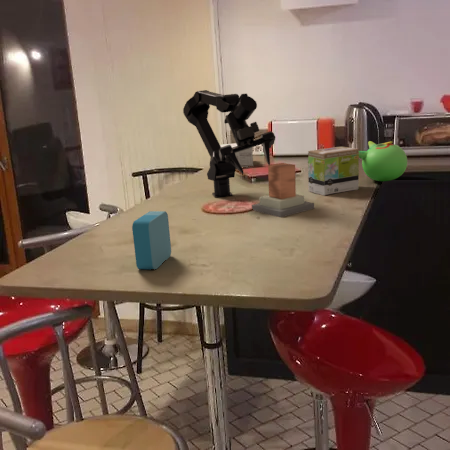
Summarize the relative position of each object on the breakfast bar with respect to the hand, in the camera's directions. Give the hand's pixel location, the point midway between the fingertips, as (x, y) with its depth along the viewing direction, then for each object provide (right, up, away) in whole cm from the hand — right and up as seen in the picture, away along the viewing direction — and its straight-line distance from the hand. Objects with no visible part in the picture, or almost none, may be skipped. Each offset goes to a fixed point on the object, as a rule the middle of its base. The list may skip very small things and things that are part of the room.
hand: (256, 169), depth 194 cm
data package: (-27, -28, -47) cm, 61 cm away
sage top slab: (+8, -11, -4) cm, 14 cm away
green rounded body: (+49, -2, +28) cm, 56 cm away
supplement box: (-5, +9, +84) cm, 84 cm away
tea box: (+28, -6, +18) cm, 34 cm away
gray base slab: (+8, -14, -3) cm, 16 cm away
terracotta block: (+8, -9, -4) cm, 13 cm away
